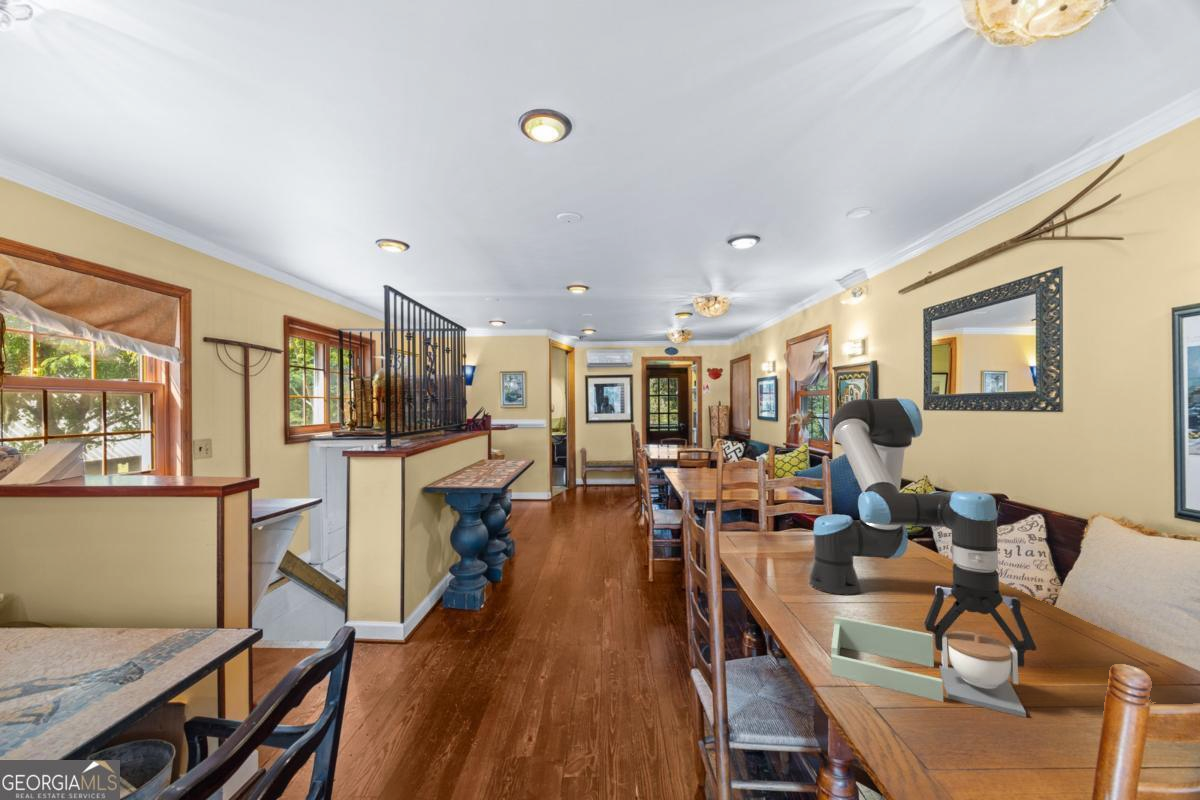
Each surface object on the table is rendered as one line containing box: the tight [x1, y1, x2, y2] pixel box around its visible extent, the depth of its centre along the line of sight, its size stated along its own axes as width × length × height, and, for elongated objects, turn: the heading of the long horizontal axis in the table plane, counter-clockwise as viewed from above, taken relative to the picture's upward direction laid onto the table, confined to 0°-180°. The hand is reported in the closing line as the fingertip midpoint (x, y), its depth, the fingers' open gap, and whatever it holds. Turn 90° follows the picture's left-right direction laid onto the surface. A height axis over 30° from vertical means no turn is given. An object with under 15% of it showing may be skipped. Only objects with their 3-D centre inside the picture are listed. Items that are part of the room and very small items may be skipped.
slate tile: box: [938, 665, 1027, 718], centre depth 96 cm, size 12×12×1 cm
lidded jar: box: [945, 630, 1012, 689], centre depth 96 cm, size 11×11×9 cm
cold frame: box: [830, 615, 944, 703], centre depth 104 cm, size 16×20×7 cm
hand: (978, 672), depth 96 cm, fingers closed on lidded jar, 11 cm apart
